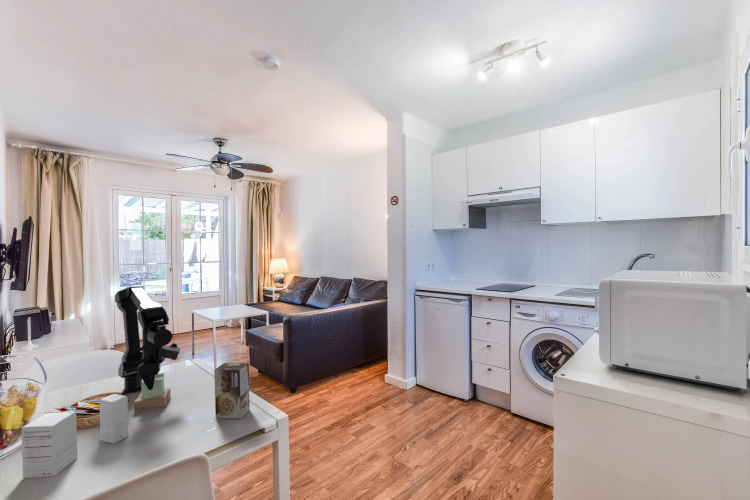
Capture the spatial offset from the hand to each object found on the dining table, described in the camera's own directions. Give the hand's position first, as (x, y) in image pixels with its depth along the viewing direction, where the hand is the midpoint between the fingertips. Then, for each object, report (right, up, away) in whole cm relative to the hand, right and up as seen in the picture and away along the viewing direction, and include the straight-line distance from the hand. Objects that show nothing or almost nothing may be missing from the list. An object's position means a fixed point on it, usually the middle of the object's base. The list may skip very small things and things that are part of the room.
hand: (152, 384), depth 118 cm
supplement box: (-3, -8, -34) cm, 35 cm away
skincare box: (+3, -7, -21) cm, 22 cm away
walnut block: (0, -7, 0) cm, 7 cm away
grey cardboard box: (+32, -7, -8) cm, 33 cm away
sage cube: (0, -3, 0) cm, 3 cm away
